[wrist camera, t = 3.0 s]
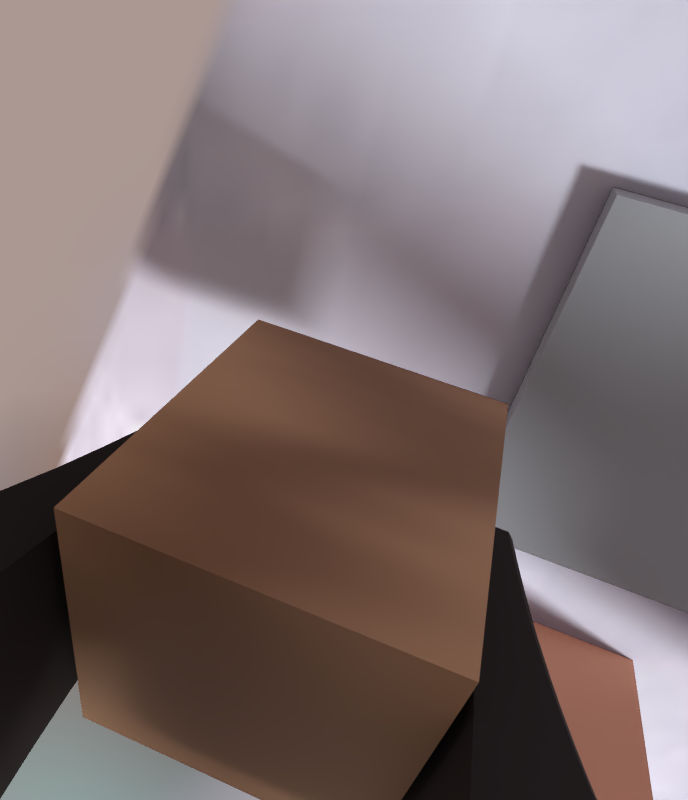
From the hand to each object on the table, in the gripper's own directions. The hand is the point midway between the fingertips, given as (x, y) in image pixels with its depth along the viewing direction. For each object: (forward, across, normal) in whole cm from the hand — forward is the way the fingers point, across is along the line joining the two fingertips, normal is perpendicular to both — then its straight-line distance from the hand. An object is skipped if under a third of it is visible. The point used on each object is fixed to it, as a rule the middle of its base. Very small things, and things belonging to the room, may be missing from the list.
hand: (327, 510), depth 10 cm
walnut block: (+2, 0, 0) cm, 2 cm away
